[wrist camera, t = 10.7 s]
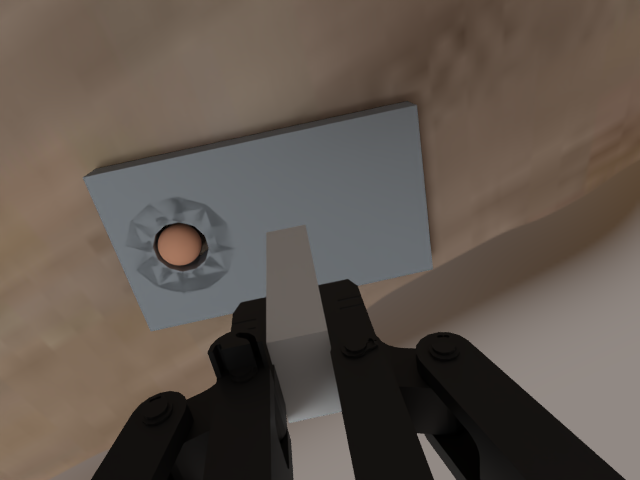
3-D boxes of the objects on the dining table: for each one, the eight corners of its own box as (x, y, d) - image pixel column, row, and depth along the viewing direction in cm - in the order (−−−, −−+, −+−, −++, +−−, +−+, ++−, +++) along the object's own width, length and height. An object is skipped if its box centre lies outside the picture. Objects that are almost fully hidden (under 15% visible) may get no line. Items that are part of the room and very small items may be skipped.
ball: (215, 255, 36) (191, 261, 38) (201, 215, 35) (178, 224, 37) (181, 267, 33) (157, 273, 35) (167, 225, 33) (143, 233, 35)
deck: (157, 315, 40) (150, 331, 37) (95, 168, 34) (82, 177, 31) (423, 256, 40) (432, 269, 38) (407, 101, 34) (416, 104, 32)
